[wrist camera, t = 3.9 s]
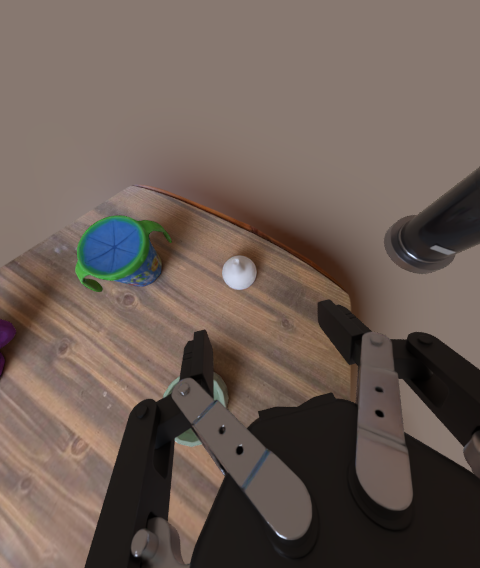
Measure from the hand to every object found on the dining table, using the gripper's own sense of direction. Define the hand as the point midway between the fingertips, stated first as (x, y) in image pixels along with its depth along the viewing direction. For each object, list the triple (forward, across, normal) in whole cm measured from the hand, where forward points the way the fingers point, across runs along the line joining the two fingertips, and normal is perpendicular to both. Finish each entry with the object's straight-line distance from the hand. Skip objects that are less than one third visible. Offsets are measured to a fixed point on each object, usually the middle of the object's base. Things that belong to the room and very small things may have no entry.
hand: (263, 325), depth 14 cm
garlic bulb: (+24, 0, +7) cm, 25 cm away
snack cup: (+28, +18, +3) cm, 33 cm away
